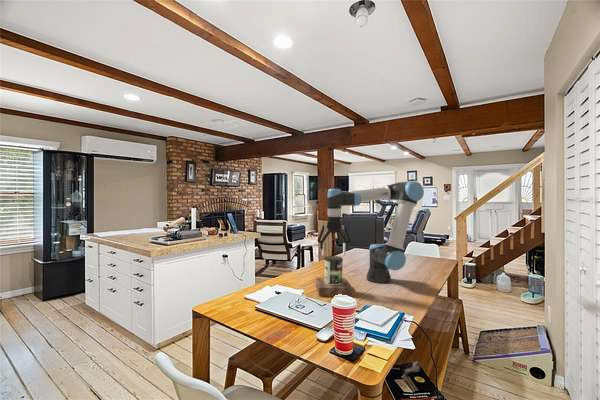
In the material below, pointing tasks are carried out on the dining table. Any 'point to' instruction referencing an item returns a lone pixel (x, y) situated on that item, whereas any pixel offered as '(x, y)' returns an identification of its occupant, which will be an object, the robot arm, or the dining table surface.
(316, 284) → the walnut block
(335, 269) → the coffee can
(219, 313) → the dining table surface
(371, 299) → the dining table surface
